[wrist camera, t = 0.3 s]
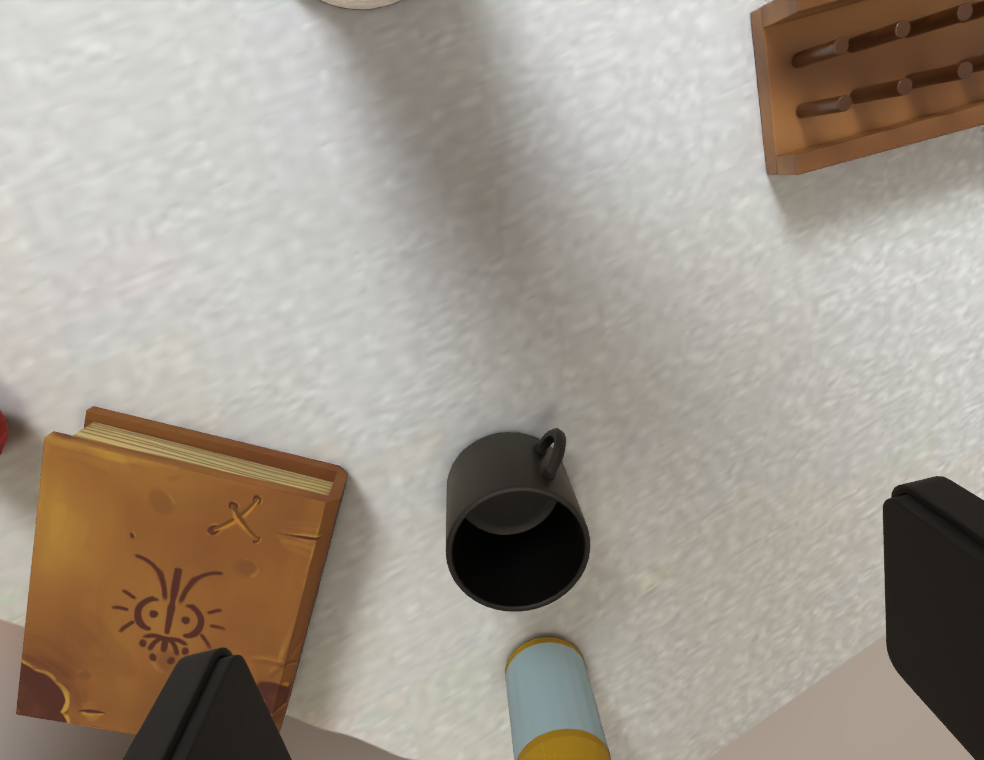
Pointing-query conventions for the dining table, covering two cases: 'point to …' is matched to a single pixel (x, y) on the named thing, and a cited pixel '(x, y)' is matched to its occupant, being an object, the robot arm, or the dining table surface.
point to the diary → (167, 565)
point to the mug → (514, 522)
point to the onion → (3, 431)
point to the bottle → (552, 704)
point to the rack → (864, 76)
